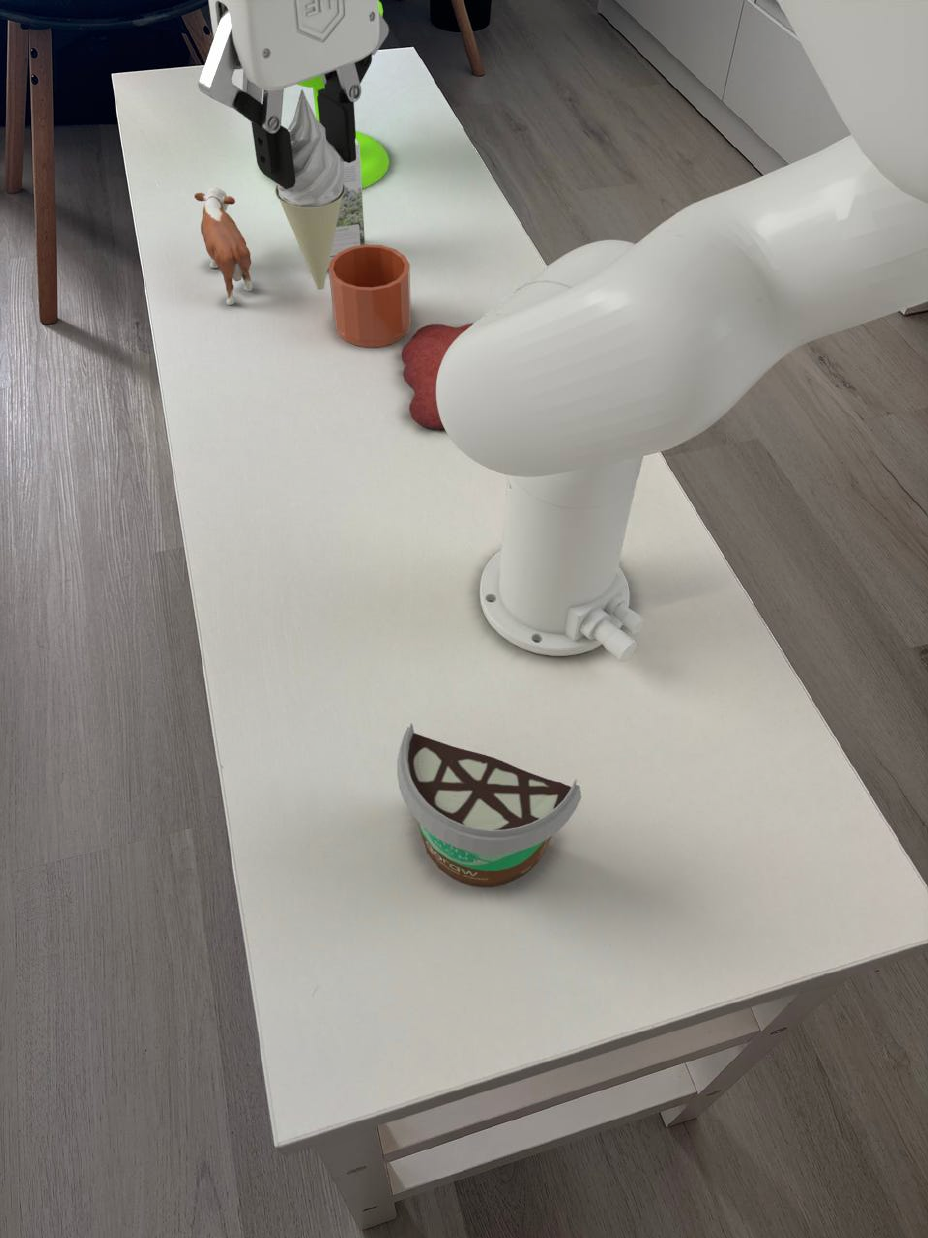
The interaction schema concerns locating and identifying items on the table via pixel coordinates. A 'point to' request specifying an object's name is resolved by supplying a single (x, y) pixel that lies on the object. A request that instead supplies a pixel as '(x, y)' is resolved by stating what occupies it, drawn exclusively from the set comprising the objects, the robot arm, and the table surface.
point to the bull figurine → (224, 240)
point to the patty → (427, 369)
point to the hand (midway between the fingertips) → (309, 164)
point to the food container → (480, 810)
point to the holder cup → (370, 295)
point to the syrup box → (350, 210)
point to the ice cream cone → (313, 190)
